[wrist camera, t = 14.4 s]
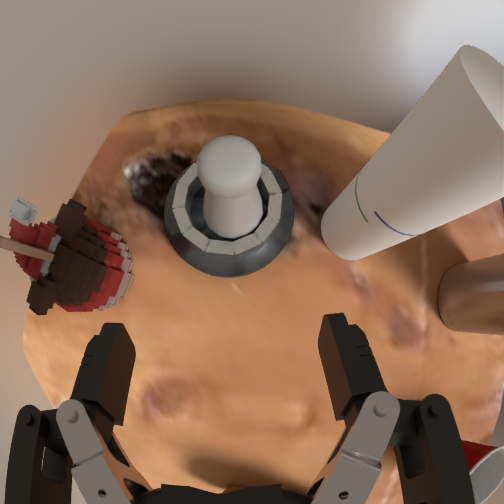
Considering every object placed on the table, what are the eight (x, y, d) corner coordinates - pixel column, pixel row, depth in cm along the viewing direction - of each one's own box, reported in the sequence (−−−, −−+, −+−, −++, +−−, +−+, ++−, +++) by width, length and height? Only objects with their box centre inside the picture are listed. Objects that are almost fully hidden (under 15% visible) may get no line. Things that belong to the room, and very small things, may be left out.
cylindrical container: (353, 273, 31) (552, 206, 6) (308, 229, 31) (443, 68, 7) (387, 229, 32) (553, 129, 7) (344, 188, 32) (471, 34, 8)
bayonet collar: (260, 142, 33) (263, 122, 29) (312, 246, 31) (324, 237, 27) (152, 186, 32) (140, 170, 27) (194, 298, 30) (186, 297, 25)
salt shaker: (195, 221, 30) (163, 166, 17) (228, 181, 31) (220, 107, 18) (239, 254, 29) (237, 218, 16) (272, 211, 30) (292, 150, 17)
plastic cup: (427, 425, 28) (480, 455, 16) (473, 419, 27) (523, 438, 16) (400, 486, 26) (439, 526, 14) (448, 475, 26) (489, 503, 14)
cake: (116, 329, 29) (3, 347, 11) (59, 293, 29) (-53, 280, 11) (150, 242, 31) (59, 179, 13) (89, 215, 31) (-7, 151, 13)
